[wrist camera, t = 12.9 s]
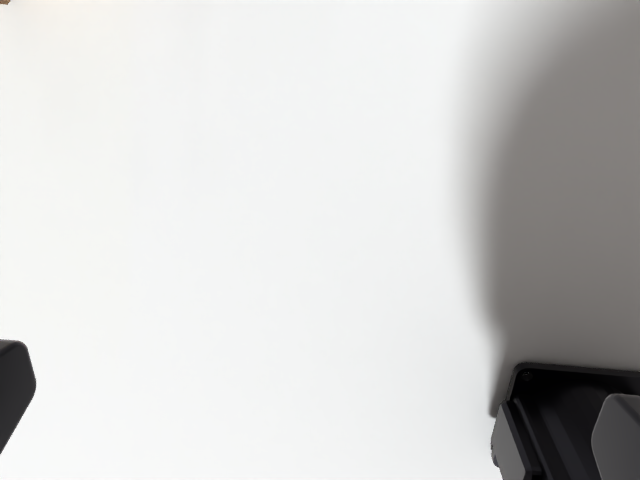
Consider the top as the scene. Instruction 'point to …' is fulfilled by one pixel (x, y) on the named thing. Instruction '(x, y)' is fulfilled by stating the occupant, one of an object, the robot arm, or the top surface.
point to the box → (4, 1)
